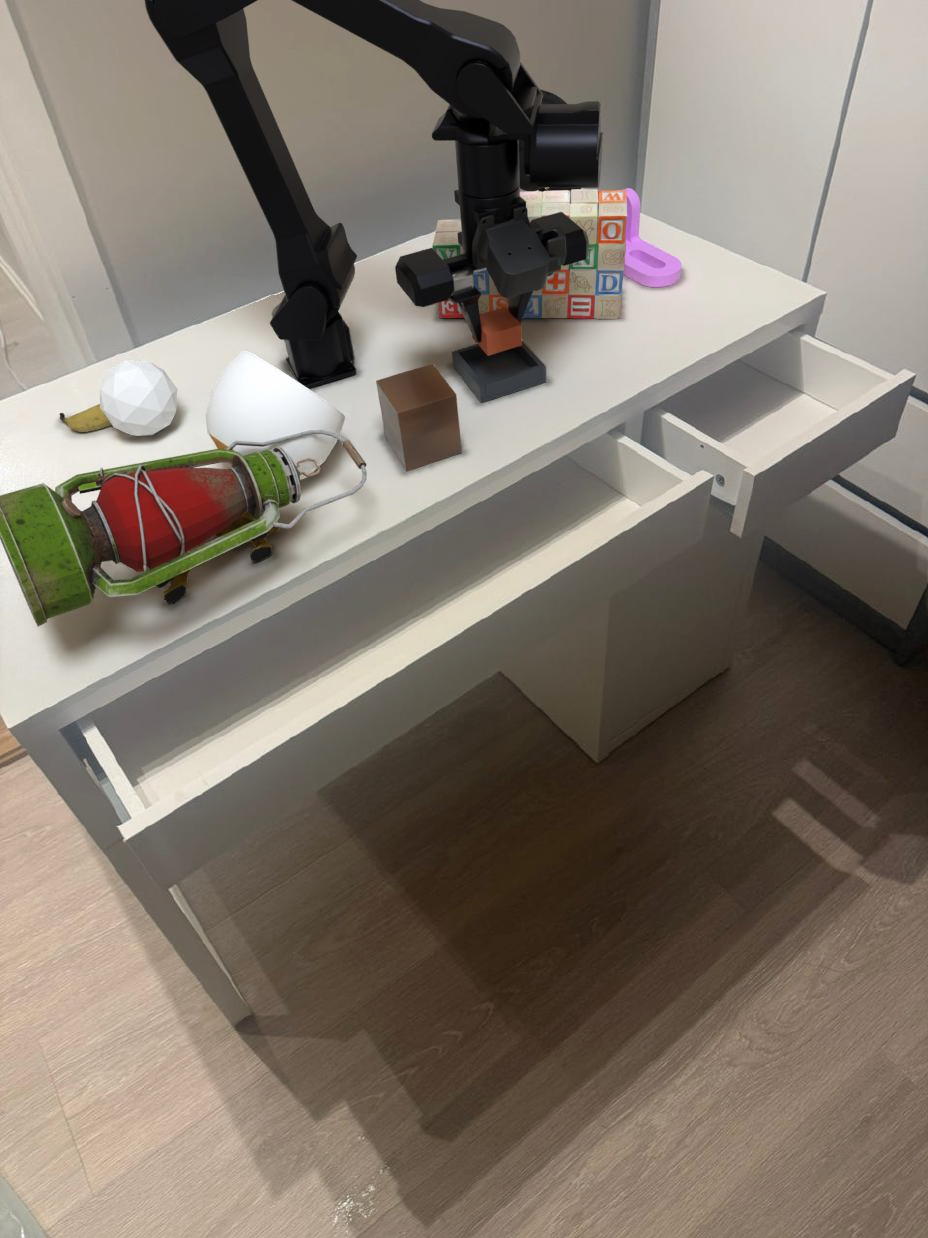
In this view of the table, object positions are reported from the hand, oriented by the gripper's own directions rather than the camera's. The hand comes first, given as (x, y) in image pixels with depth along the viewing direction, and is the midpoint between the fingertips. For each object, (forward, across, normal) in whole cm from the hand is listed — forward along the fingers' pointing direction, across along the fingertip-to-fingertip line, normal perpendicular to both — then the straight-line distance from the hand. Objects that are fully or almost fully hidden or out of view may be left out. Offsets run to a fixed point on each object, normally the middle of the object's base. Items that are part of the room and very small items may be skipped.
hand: (496, 334), depth 97 cm
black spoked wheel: (-2, +18, +26) cm, 32 cm away
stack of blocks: (+5, +9, +11) cm, 15 cm away
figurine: (+3, -36, -18) cm, 40 cm away
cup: (+2, -30, -6) cm, 31 cm away
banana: (+4, -41, +11) cm, 43 cm away
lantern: (-6, -50, -18) cm, 53 cm away
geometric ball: (+5, -37, +9) cm, 38 cm away
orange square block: (+1, 0, 0) cm, 1 cm away
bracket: (+5, +25, +13) cm, 29 cm away
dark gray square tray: (+5, 0, 0) cm, 5 cm away
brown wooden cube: (+5, -12, -8) cm, 15 cm away
